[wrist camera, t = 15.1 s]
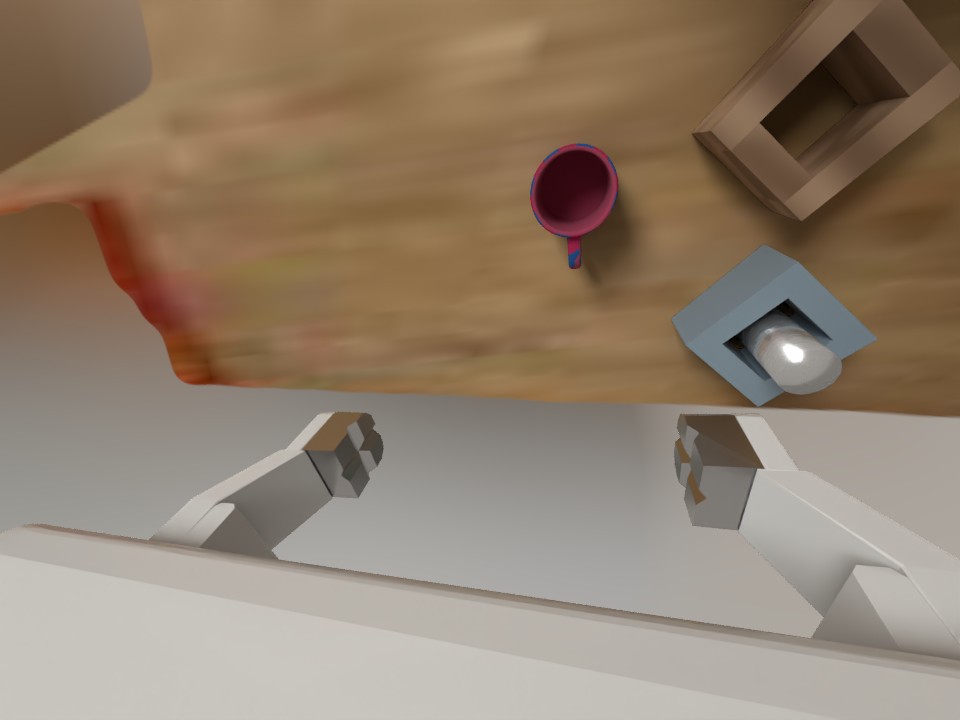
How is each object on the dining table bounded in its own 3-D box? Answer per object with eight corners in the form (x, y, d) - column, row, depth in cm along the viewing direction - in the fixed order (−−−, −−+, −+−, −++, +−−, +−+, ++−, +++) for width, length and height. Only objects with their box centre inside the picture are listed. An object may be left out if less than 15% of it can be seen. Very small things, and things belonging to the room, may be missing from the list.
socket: (763, 244, 33) (798, 261, 28) (833, 310, 34) (878, 339, 29) (670, 318, 38) (685, 345, 33) (734, 373, 39) (757, 406, 34)
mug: (615, 141, 31) (624, 141, 26) (600, 256, 36) (605, 276, 31) (538, 145, 33) (531, 146, 27) (535, 255, 38) (528, 275, 32)
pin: (753, 288, 35) (819, 339, 25) (781, 313, 35) (854, 372, 26) (716, 316, 37) (764, 373, 28) (742, 339, 37) (798, 402, 28)
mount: (820, -7, 24) (871, -39, 20) (908, 95, 26) (972, 85, 22) (691, 133, 30) (710, 131, 26) (770, 211, 31) (801, 221, 27)
